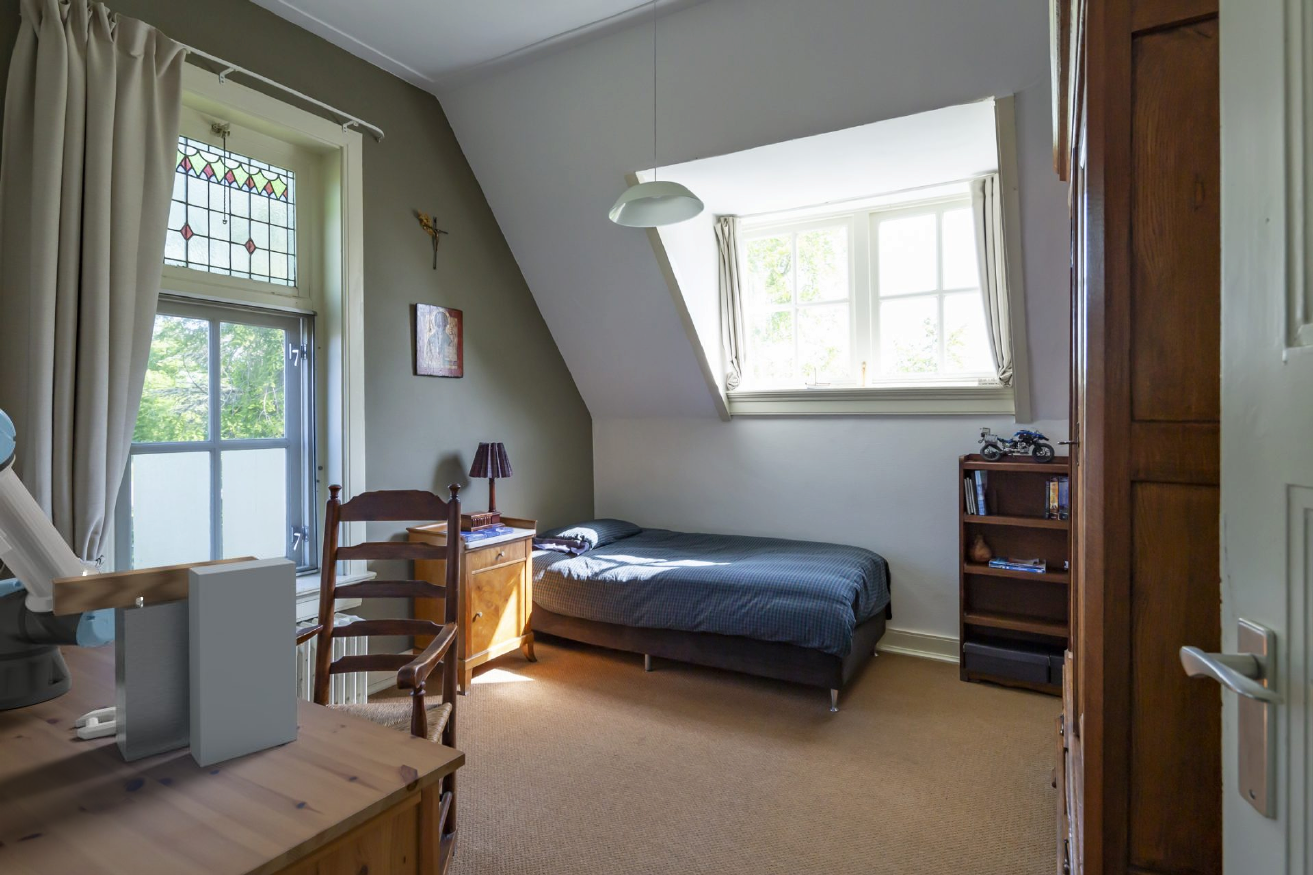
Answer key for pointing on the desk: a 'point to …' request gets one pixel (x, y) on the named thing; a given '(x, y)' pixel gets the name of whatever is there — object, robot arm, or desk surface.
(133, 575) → the rail
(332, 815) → the desk surface
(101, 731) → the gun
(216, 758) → the stand
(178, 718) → the plate
